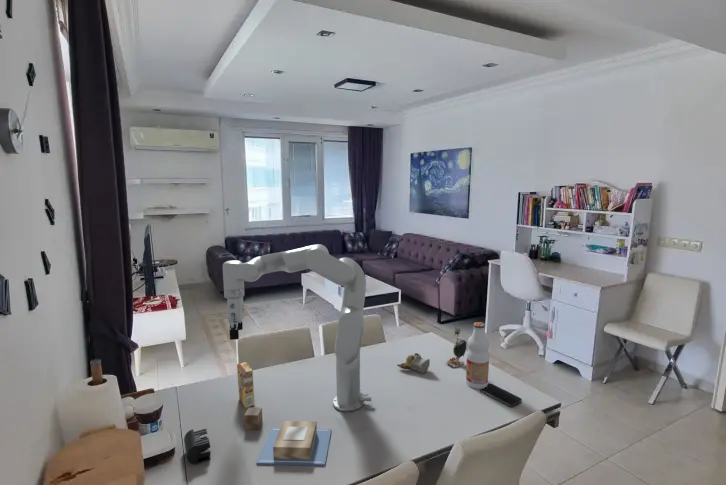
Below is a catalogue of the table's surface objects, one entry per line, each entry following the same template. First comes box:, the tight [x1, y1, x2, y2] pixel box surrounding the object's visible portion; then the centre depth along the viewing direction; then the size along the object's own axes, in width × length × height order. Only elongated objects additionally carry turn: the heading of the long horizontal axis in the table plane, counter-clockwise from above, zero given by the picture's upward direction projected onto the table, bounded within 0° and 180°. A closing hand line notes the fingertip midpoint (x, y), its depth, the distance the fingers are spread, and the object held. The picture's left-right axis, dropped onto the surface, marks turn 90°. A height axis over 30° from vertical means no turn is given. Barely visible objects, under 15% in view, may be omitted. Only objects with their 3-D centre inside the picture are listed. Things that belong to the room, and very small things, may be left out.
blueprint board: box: [256, 427, 332, 467], centre depth 136 cm, size 22×18×1 cm
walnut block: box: [243, 406, 263, 431], centre depth 147 cm, size 5×5×6 cm
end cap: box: [183, 428, 212, 465], centre depth 132 cm, size 10×7×7 cm
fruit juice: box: [465, 321, 490, 390], centre depth 175 cm, size 9×9×28 cm
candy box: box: [236, 361, 256, 409], centre depth 162 cm, size 9×4×15 cm, turn 33°
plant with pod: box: [445, 326, 468, 368], centre depth 195 cm, size 8×11×20 cm
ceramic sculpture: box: [396, 352, 431, 374], centre depth 190 cm, size 11×9×15 cm
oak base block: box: [273, 420, 318, 459], centre depth 136 cm, size 12×14×5 cm
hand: (236, 334), depth 157 cm, fingers open, 9 cm apart
